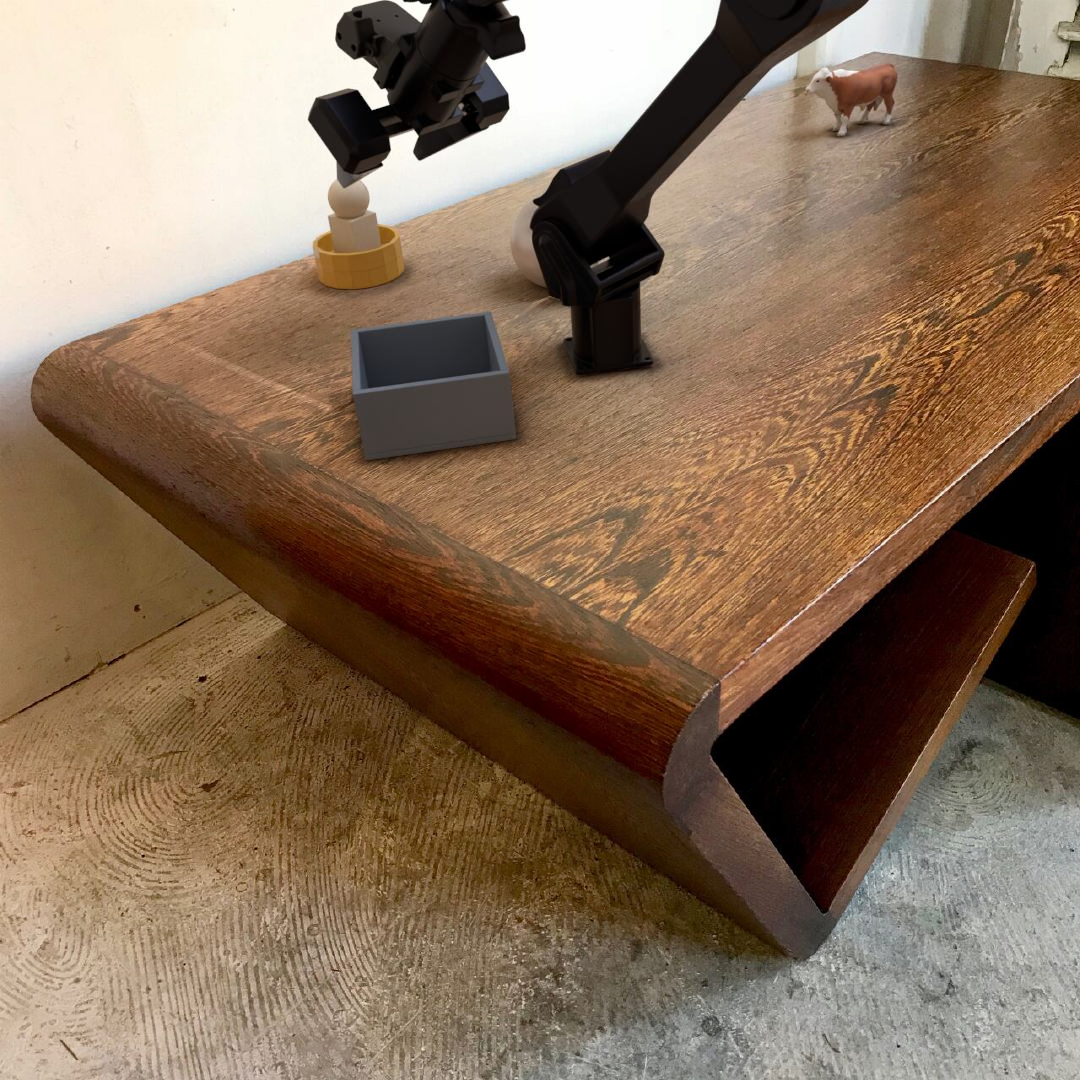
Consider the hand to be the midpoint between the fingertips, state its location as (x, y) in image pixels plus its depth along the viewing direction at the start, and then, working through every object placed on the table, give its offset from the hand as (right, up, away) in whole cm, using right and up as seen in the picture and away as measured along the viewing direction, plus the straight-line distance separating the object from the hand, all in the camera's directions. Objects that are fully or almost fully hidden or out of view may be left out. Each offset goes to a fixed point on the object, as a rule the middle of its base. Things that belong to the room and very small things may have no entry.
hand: (380, 169), depth 97 cm
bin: (+7, -24, -15) cm, 29 cm away
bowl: (-3, -7, +10) cm, 13 cm away
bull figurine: (+55, +19, +40) cm, 71 cm away
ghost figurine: (+17, -10, +4) cm, 20 cm away
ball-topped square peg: (-3, -7, +10) cm, 12 cm away
